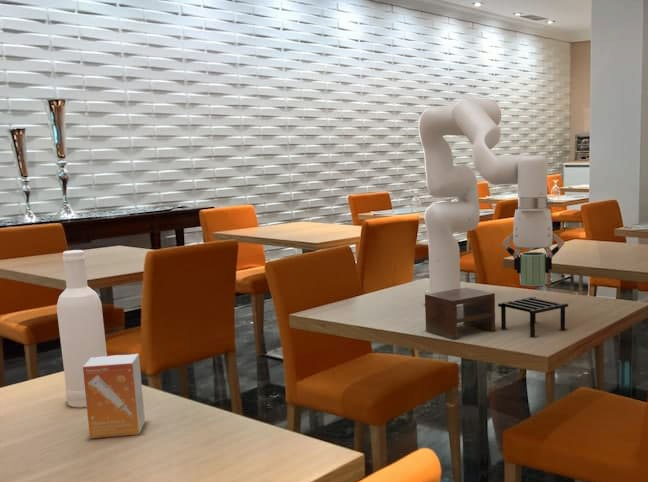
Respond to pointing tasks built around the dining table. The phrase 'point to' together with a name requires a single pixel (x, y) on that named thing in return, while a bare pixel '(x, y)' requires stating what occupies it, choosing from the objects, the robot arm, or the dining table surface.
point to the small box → (114, 395)
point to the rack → (532, 310)
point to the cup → (533, 269)
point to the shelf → (459, 311)
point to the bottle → (78, 326)
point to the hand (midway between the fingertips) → (533, 272)
